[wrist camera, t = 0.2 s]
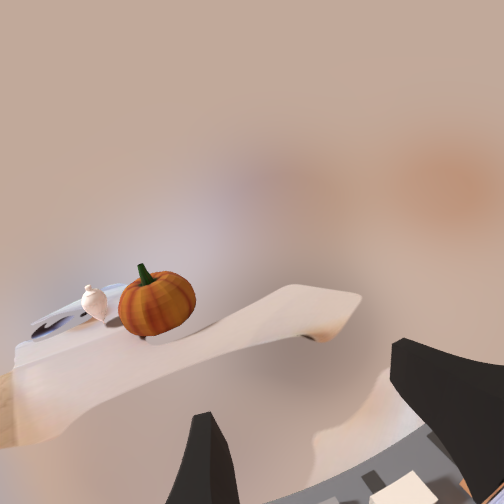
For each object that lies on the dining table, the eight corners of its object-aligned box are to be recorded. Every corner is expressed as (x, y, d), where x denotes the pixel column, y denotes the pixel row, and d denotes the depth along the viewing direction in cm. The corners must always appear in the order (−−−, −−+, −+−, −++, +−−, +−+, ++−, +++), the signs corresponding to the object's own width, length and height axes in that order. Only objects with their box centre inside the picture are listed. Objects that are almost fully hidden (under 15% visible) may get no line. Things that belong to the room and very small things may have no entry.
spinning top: (95, 321, 76) (79, 285, 73) (117, 314, 78) (101, 277, 75) (90, 333, 69) (72, 294, 66) (114, 325, 71) (96, 285, 68)
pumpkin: (175, 346, 55) (147, 279, 51) (114, 342, 62) (88, 286, 58) (213, 300, 73) (195, 244, 68) (155, 304, 80) (137, 255, 75)
